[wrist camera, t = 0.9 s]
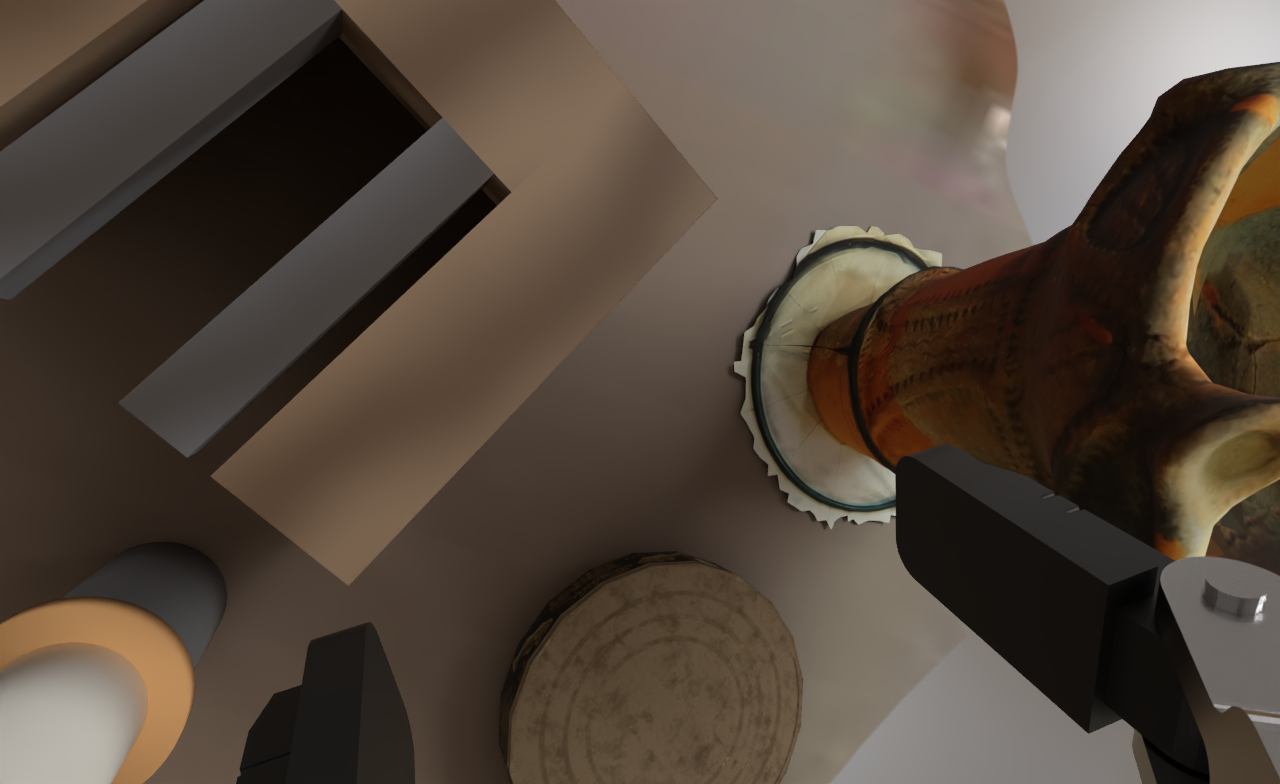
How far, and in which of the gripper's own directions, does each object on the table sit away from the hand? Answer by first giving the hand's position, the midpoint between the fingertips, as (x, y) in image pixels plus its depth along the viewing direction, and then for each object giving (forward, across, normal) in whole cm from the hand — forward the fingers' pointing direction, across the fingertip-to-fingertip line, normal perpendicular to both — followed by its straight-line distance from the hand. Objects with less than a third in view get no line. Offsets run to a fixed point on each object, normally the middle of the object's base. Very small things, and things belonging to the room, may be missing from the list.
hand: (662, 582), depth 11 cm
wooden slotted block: (+27, +6, -3) cm, 27 cm away
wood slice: (+21, -3, +23) cm, 31 cm away
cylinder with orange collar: (+21, +16, +10) cm, 29 cm away
